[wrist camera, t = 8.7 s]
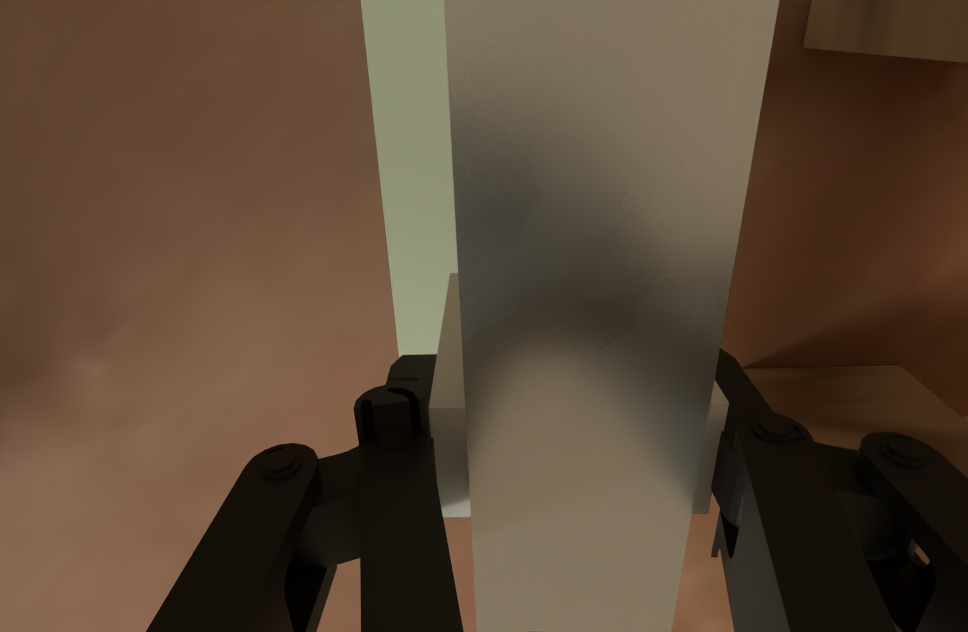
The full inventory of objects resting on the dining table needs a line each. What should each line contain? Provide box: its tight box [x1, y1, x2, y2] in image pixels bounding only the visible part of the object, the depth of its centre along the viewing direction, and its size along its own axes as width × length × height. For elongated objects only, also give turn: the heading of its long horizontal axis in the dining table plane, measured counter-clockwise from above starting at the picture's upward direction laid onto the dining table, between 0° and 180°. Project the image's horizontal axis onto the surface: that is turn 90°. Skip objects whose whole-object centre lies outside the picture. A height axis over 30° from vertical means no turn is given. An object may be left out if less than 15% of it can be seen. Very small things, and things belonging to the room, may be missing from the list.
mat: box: [361, 0, 458, 358], centre depth 23 cm, size 11×28×1 cm, turn 2°
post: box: [743, 365, 968, 565], centre depth 22 cm, size 7×5×12 cm
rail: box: [444, 0, 779, 632], centre depth 12 cm, size 24×4×4 cm, turn 2°
